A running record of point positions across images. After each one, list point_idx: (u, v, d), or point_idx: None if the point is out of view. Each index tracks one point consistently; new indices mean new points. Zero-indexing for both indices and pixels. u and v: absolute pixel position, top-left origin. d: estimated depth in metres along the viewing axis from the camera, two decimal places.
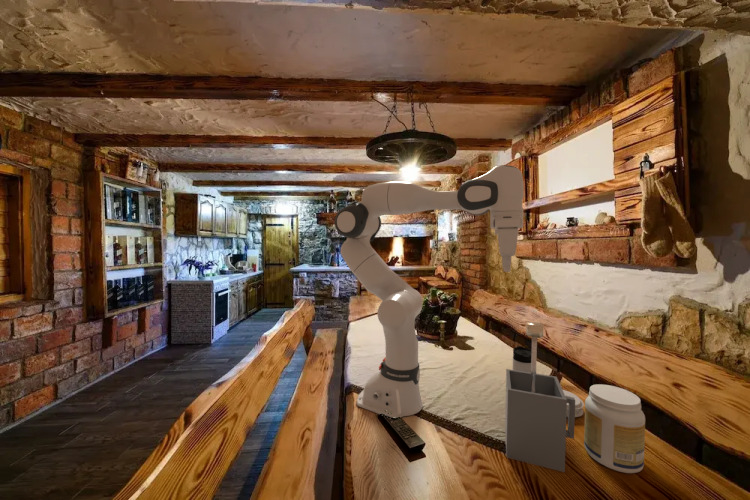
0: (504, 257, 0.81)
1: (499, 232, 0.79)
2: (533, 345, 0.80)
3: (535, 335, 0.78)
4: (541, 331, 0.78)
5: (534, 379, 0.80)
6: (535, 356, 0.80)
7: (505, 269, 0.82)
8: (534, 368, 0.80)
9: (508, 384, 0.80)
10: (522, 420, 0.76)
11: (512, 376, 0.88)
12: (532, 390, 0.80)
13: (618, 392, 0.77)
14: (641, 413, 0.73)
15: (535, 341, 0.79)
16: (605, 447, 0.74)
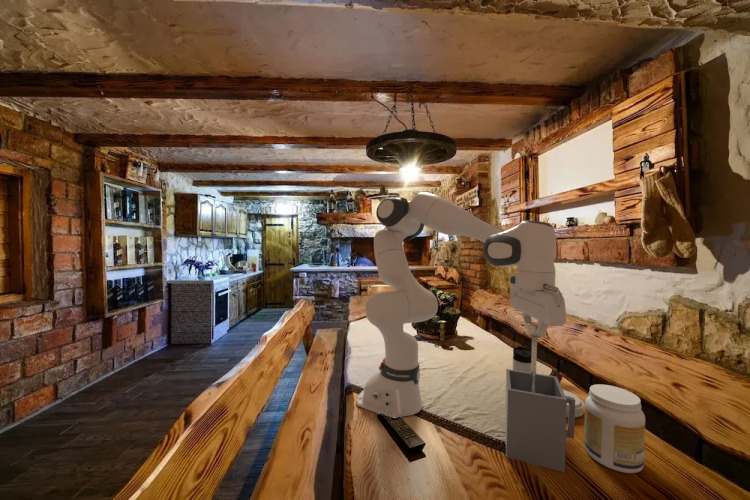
0: None
1: None
2: (533, 345, 0.80)
3: (535, 335, 0.78)
4: None
5: (534, 379, 0.80)
6: (535, 356, 0.80)
7: None
8: (534, 368, 0.80)
9: (508, 384, 0.80)
10: (522, 420, 0.76)
11: (512, 376, 0.88)
12: (532, 390, 0.80)
13: (618, 392, 0.77)
14: (641, 413, 0.73)
15: (535, 341, 0.79)
16: (605, 447, 0.74)
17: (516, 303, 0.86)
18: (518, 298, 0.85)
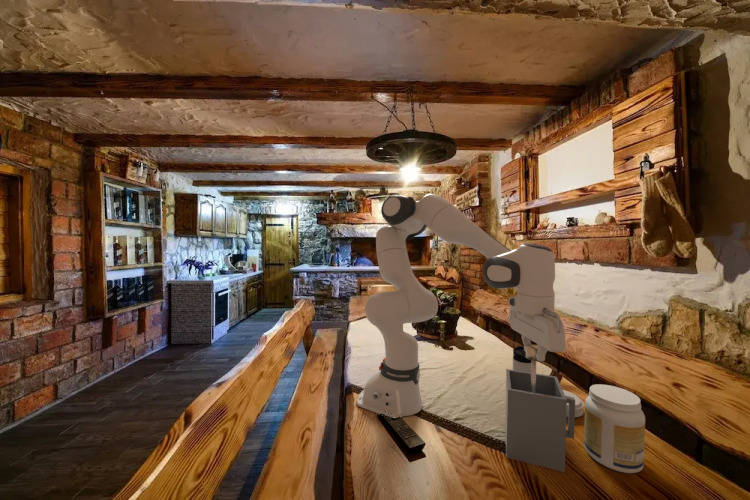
0: None
1: None
2: (532, 368, 0.80)
3: (534, 358, 0.78)
4: None
5: None
6: (534, 379, 0.80)
7: None
8: (533, 391, 0.80)
9: (508, 384, 0.80)
10: (522, 420, 0.76)
11: (512, 376, 0.88)
12: None
13: (618, 392, 0.77)
14: (641, 413, 0.73)
15: (534, 364, 0.80)
16: (605, 447, 0.74)
17: (515, 325, 0.86)
18: (517, 320, 0.85)
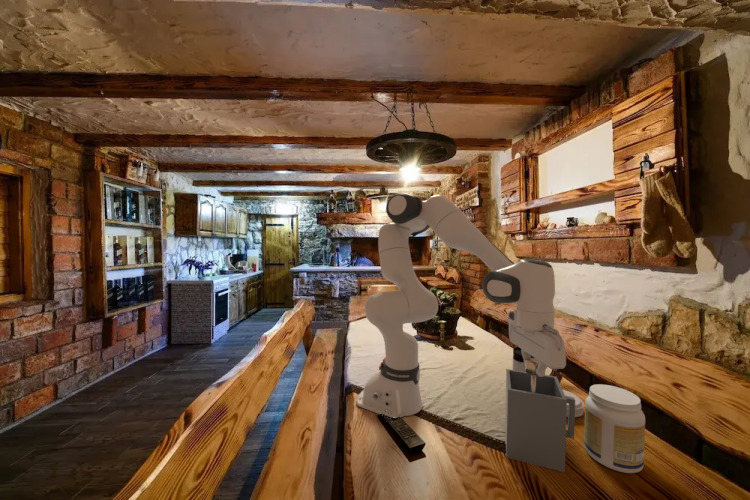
0: None
1: None
2: (532, 382, 0.80)
3: (534, 373, 0.78)
4: None
5: None
6: None
7: None
8: None
9: (508, 384, 0.80)
10: (522, 420, 0.76)
11: (512, 376, 0.88)
12: None
13: (618, 392, 0.77)
14: (641, 413, 0.73)
15: (534, 378, 0.80)
16: (605, 447, 0.74)
17: (515, 339, 0.86)
18: (517, 334, 0.85)
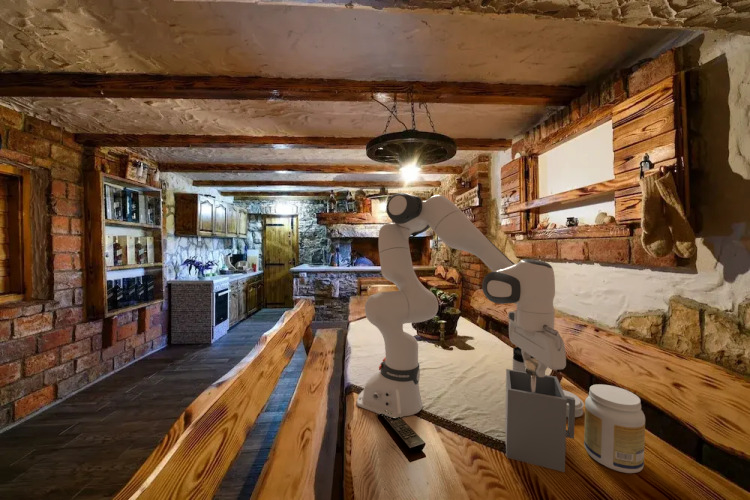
0: None
1: None
2: (532, 382, 0.80)
3: (534, 373, 0.78)
4: None
5: None
6: None
7: None
8: None
9: (508, 384, 0.80)
10: (522, 420, 0.76)
11: (512, 376, 0.88)
12: None
13: (618, 392, 0.77)
14: (641, 413, 0.73)
15: (534, 378, 0.80)
16: (605, 447, 0.74)
17: (515, 339, 0.86)
18: (517, 334, 0.85)
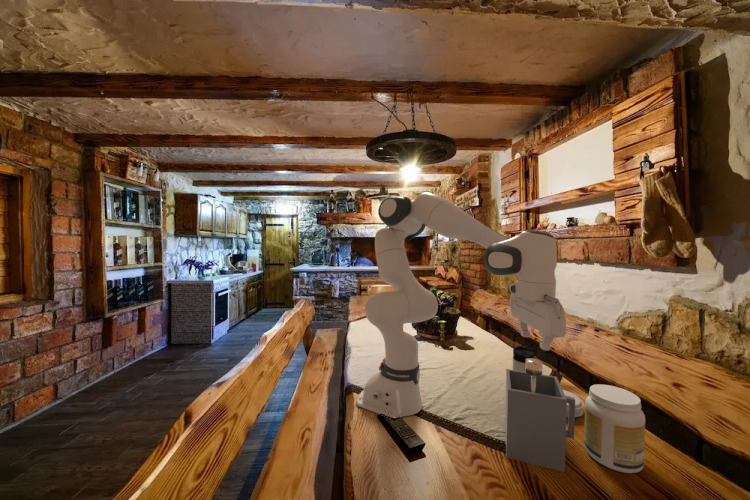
0: None
1: None
2: (532, 382, 0.80)
3: (534, 373, 0.78)
4: (540, 369, 0.78)
5: None
6: None
7: None
8: None
9: (508, 384, 0.80)
10: (522, 420, 0.76)
11: (512, 376, 0.88)
12: None
13: (618, 392, 0.77)
14: (641, 413, 0.73)
15: (534, 378, 0.80)
16: (605, 447, 0.74)
17: (516, 312, 0.86)
18: (518, 307, 0.85)
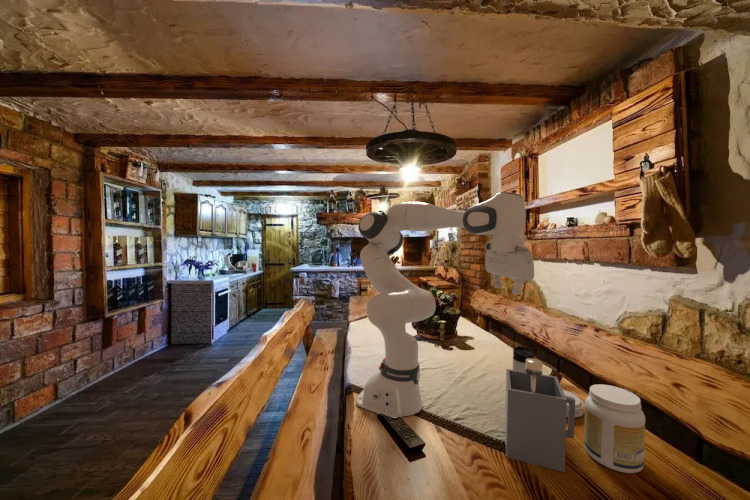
0: None
1: None
2: (532, 382, 0.80)
3: (534, 373, 0.78)
4: (540, 369, 0.78)
5: None
6: None
7: None
8: None
9: (508, 384, 0.80)
10: (522, 420, 0.76)
11: (512, 376, 0.88)
12: None
13: (618, 392, 0.77)
14: (641, 413, 0.73)
15: (534, 378, 0.80)
16: (605, 447, 0.74)
17: (490, 267, 0.97)
18: (492, 262, 0.96)
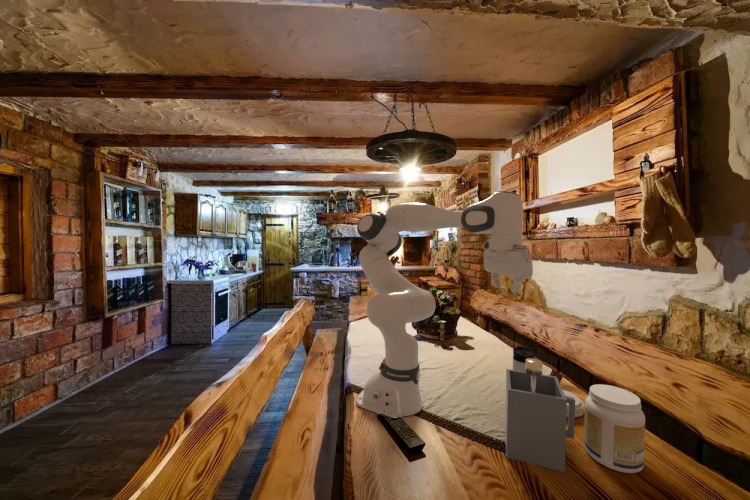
0: None
1: None
2: (532, 382, 0.80)
3: (534, 373, 0.78)
4: (540, 369, 0.78)
5: None
6: None
7: None
8: None
9: (508, 384, 0.80)
10: (522, 420, 0.76)
11: (512, 376, 0.88)
12: None
13: (618, 392, 0.77)
14: (641, 413, 0.73)
15: (534, 378, 0.80)
16: (605, 447, 0.74)
17: (489, 266, 0.98)
18: (491, 261, 0.97)
